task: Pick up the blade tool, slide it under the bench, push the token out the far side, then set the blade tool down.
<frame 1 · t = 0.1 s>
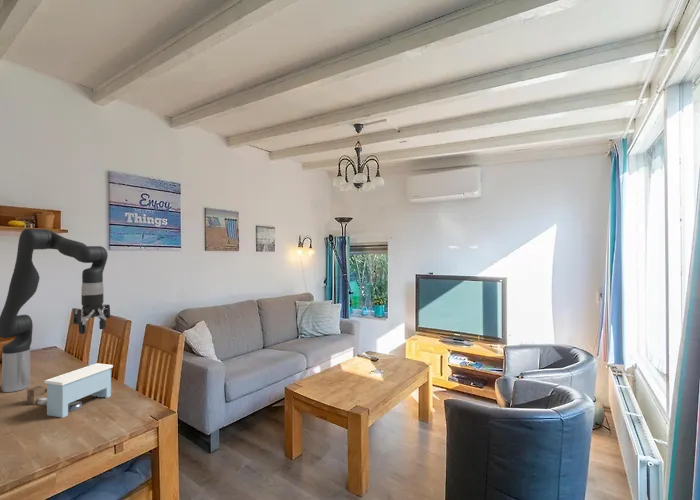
hand: (92, 331, 148), 29 cm above the table, fingers open, 8 cm apart
token: (74, 409, 140), on the table
blade tool: (36, 402, 146), on the table
bench: (80, 405, 143), on the table
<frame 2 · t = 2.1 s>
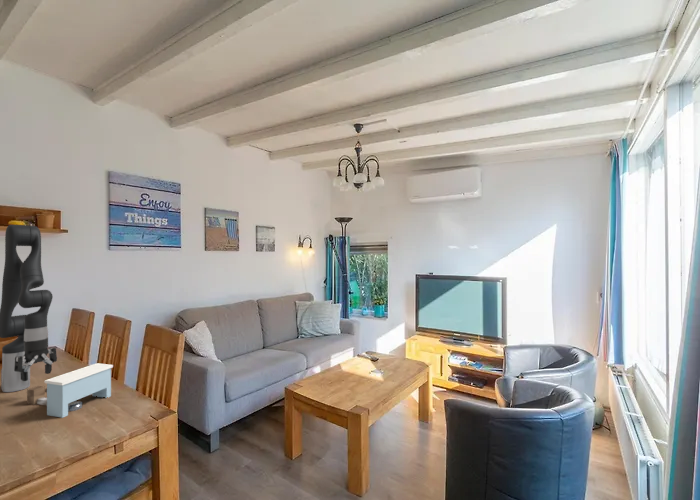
hand: (36, 377, 146), 11 cm above the table, fingers open, 8 cm apart
nothing on the table moved.
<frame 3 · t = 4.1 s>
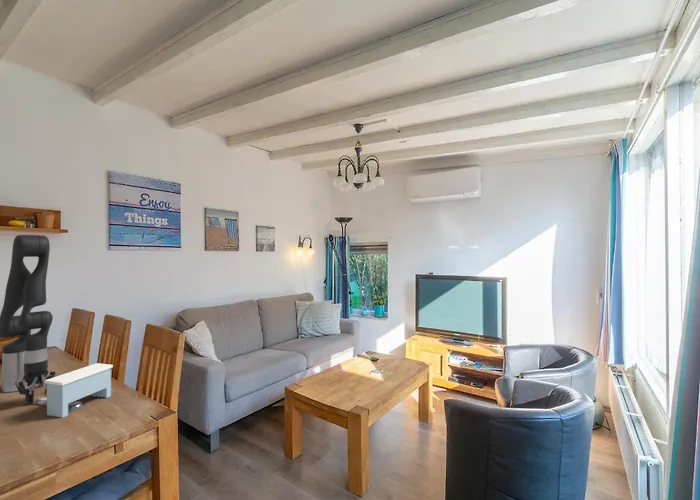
hand: (36, 400, 146), 1 cm above the table, fingers closed on blade tool, 4 cm apart
blade tool: (36, 402, 146), on the table, touching gripper
everything else where it was.
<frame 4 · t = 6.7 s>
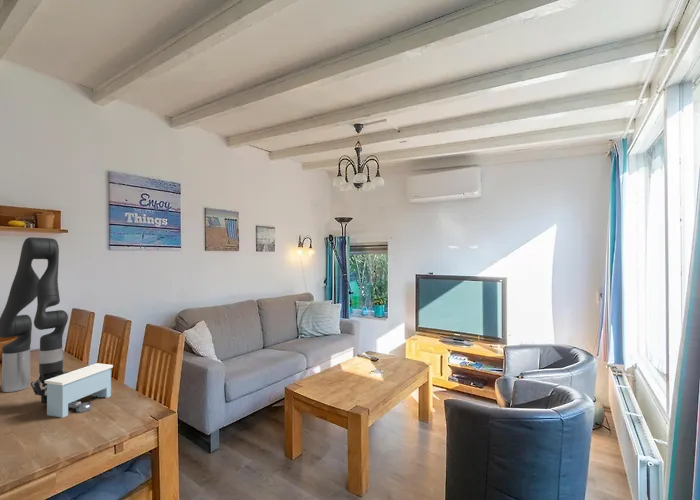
hand: (51, 401, 143), 2 cm above the table, fingers closed on blade tool, 4 cm apart
token: (83, 409, 139), on the table, touching blade tool
blade tool: (51, 403, 143), point 1 cm above the table, touching gripper, token
everything else where it was.
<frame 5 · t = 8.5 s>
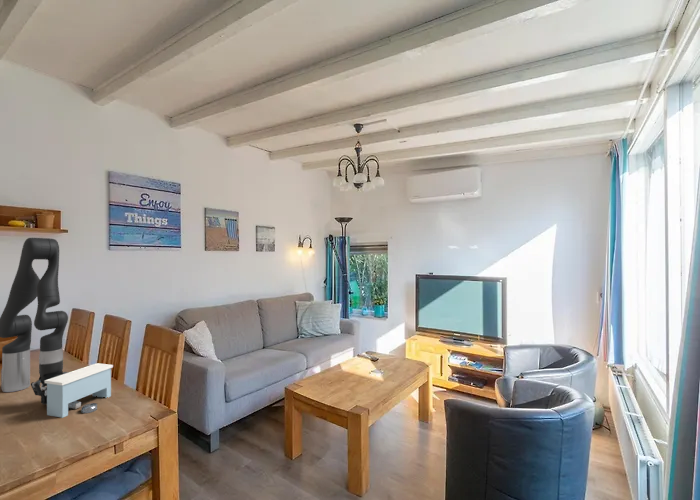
hand: (51, 401, 144), 1 cm above the table, fingers closed on blade tool, 4 cm apart
token: (89, 411, 139), on the table
blade tool: (51, 403, 144), on the table, touching gripper
everything else where it was.
when the fingers open (1 cm above the table, at t = 9.5 s): blade tool stays where it is, on the table.
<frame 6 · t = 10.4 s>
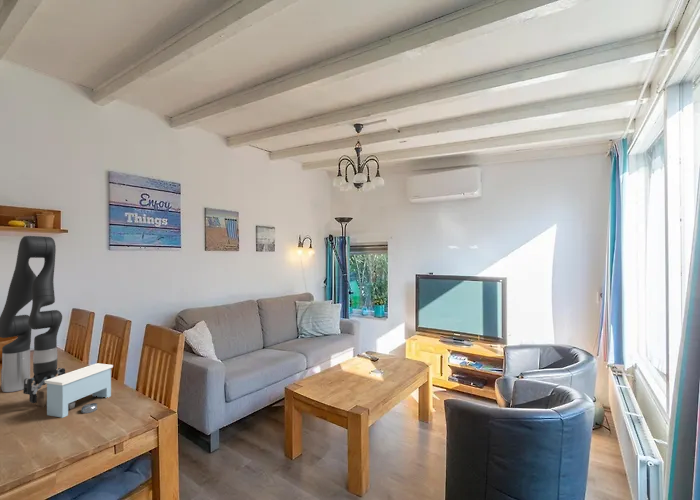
hand: (45, 398, 144), 2 cm above the table, fingers open, 8 cm apart
blade tool: (45, 403, 144), on the table
everything else where it was.
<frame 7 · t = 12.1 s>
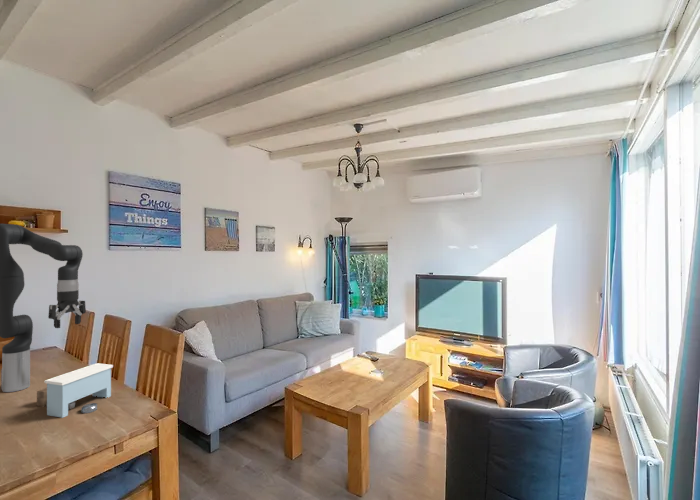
hand: (67, 325, 156), 30 cm above the table, fingers open, 8 cm apart
nothing on the table moved.
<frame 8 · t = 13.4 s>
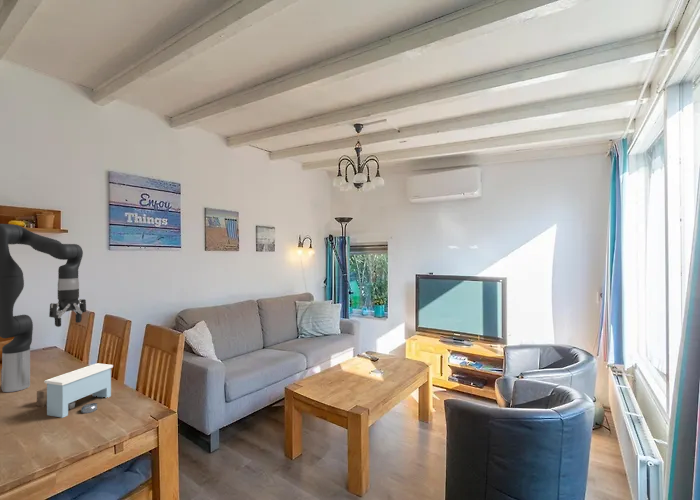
hand: (68, 324, 157), 30 cm above the table, fingers open, 8 cm apart
nothing on the table moved.
at the end: token inside the target area (8.6 cm from its centre), on the table; token moved 7.5 cm from its start; the gripper is holding nothing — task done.
